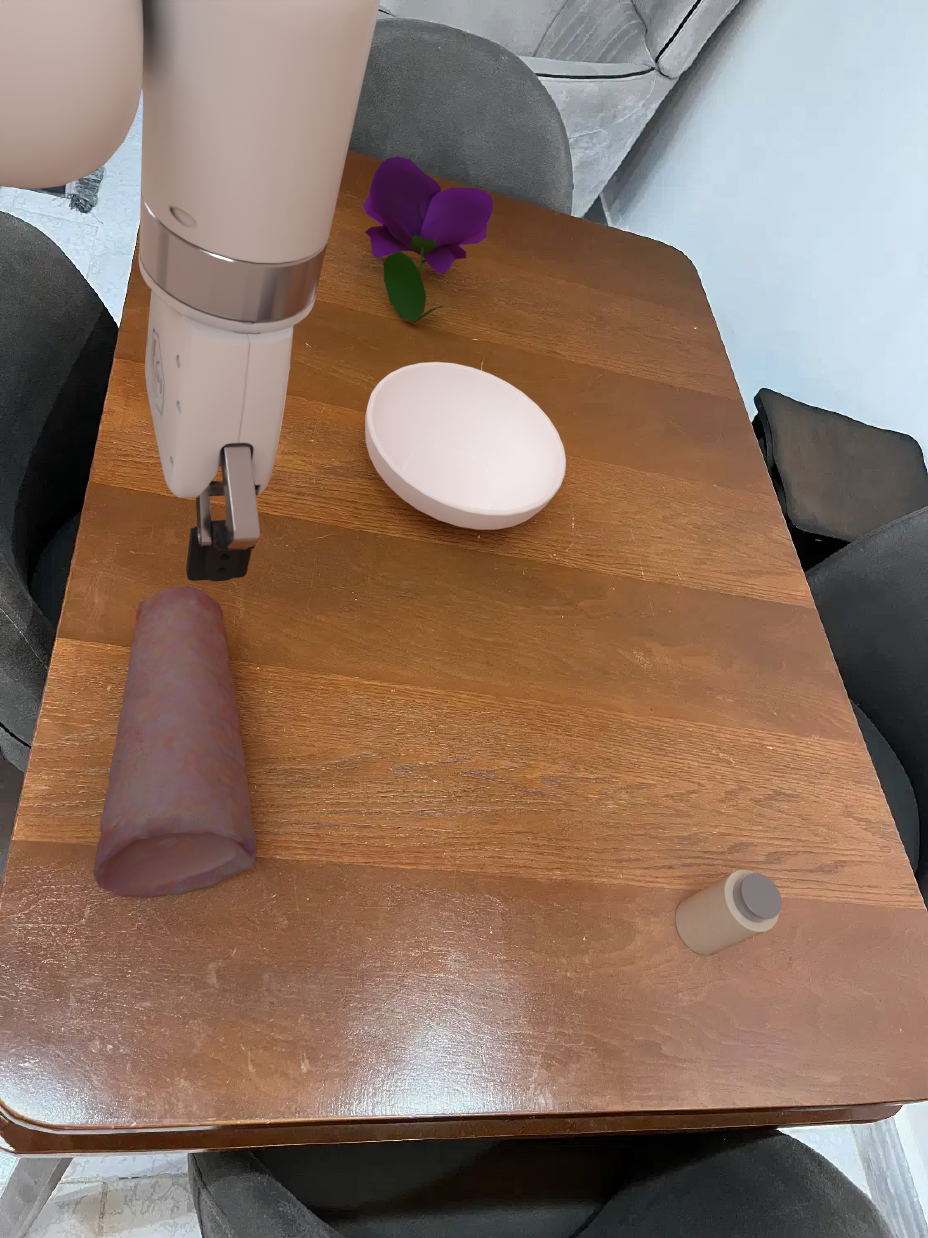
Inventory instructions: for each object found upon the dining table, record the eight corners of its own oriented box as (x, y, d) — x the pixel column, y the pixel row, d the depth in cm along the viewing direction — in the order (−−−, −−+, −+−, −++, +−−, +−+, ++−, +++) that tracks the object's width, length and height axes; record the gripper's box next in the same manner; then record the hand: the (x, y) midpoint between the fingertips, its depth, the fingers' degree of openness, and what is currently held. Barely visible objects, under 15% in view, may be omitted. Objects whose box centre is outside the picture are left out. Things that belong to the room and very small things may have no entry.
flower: (457, 359, 104) (466, 257, 105) (499, 304, 90) (509, 187, 91) (340, 333, 99) (351, 227, 101) (365, 271, 85) (377, 149, 87)
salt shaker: (684, 958, 64) (746, 930, 57) (668, 899, 66) (726, 866, 59) (732, 952, 65) (798, 924, 59) (714, 895, 67) (776, 862, 61)
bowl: (308, 469, 79) (322, 414, 73) (429, 389, 91) (448, 335, 85) (468, 598, 76) (495, 550, 71) (571, 497, 88) (600, 450, 83)
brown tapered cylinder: (249, 885, 57) (266, 840, 50) (96, 907, 53) (91, 862, 46) (222, 620, 67) (233, 553, 60) (93, 623, 63) (89, 552, 56)
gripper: (114, 118, 38) (114, 401, 51) (172, 387, 30) (154, 639, 43) (278, 144, 41) (238, 403, 55) (369, 392, 33) (296, 625, 47)
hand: (201, 507), depth 49 cm, fingers open, 9 cm apart
